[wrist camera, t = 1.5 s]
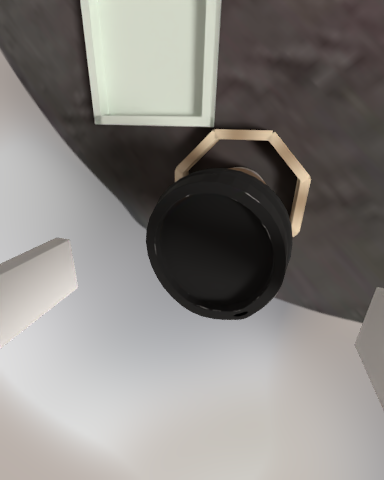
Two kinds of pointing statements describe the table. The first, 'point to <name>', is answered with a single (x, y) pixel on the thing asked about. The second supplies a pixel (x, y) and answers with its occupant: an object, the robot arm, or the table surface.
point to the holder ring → (280, 147)
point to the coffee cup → (220, 242)
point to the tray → (152, 61)
